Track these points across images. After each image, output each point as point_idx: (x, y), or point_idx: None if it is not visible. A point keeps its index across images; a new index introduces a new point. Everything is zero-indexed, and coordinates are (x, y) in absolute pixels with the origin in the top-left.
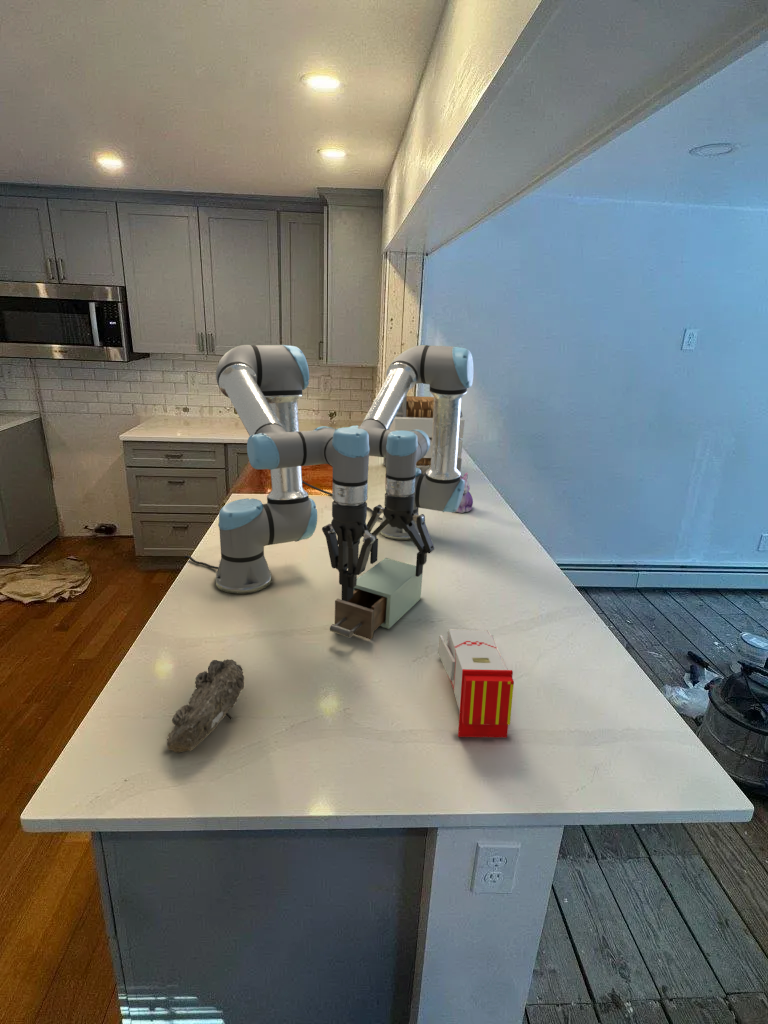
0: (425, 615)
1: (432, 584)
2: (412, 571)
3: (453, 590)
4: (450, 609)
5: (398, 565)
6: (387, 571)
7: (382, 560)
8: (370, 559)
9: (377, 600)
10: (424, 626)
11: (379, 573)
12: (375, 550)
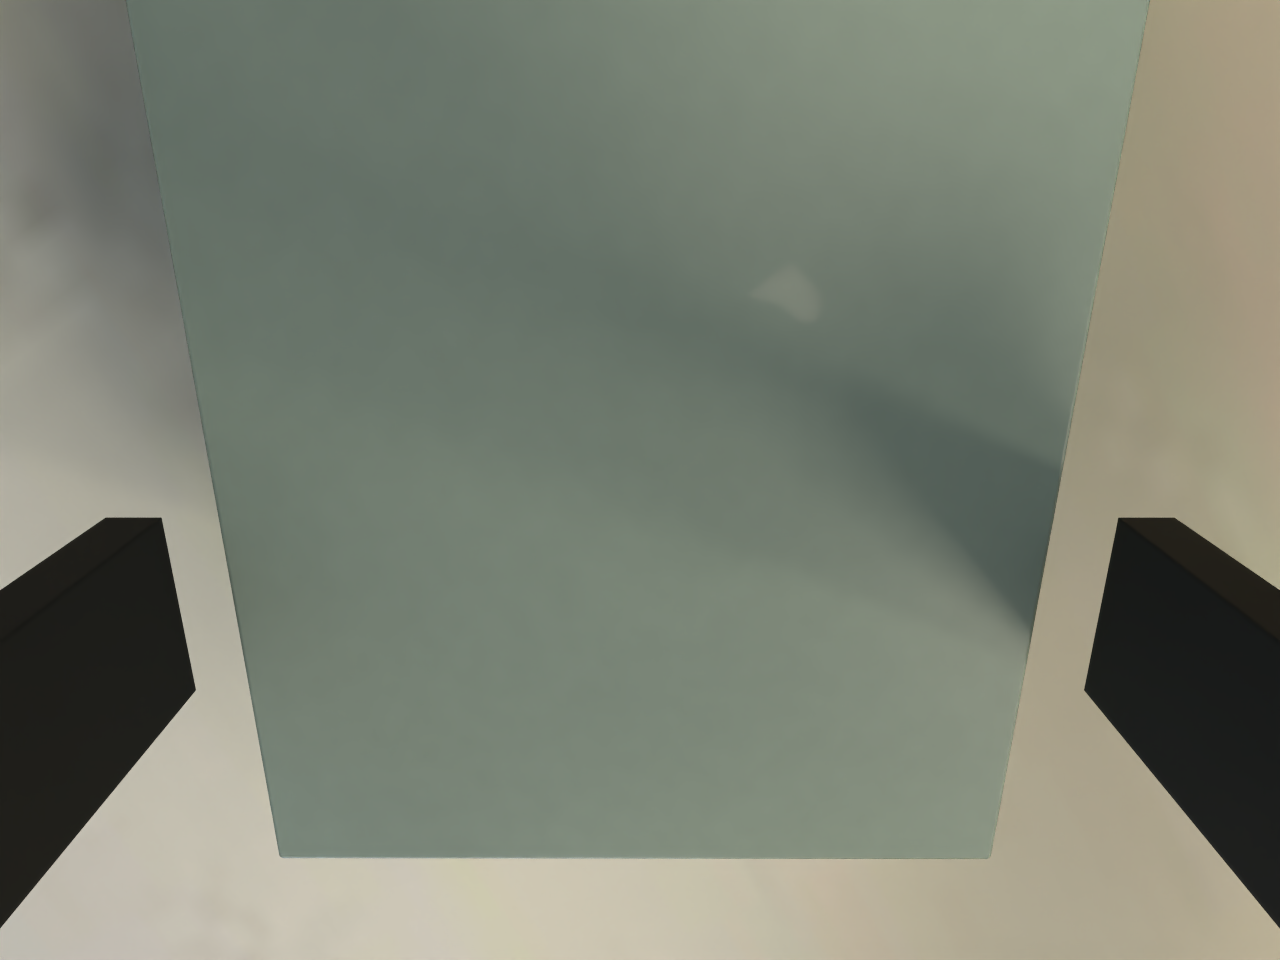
0: (177, 296)
1: (473, 875)
2: (330, 657)
3: (252, 873)
4: (54, 552)
5: (661, 727)
6: (723, 415)
7: (1001, 749)
8: (1224, 558)
9: None
10: (34, 51)
11: (828, 242)
12: (1264, 775)
